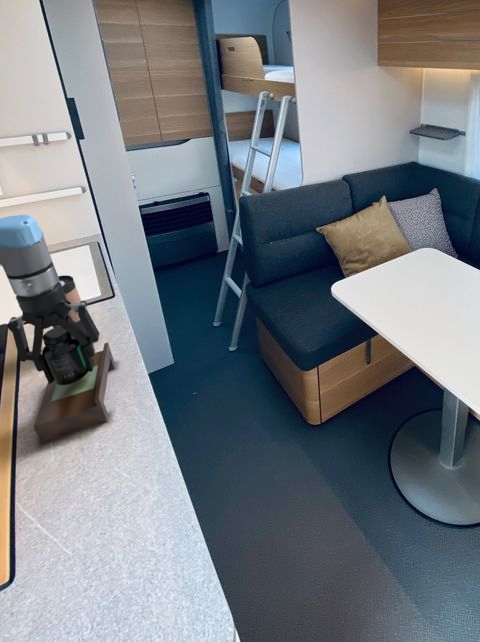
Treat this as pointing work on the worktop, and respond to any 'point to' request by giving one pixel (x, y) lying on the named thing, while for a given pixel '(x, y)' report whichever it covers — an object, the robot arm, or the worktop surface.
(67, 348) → the supplement bottle
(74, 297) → the travel mug
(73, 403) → the wooden plaque with label
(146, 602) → the worktop surface
